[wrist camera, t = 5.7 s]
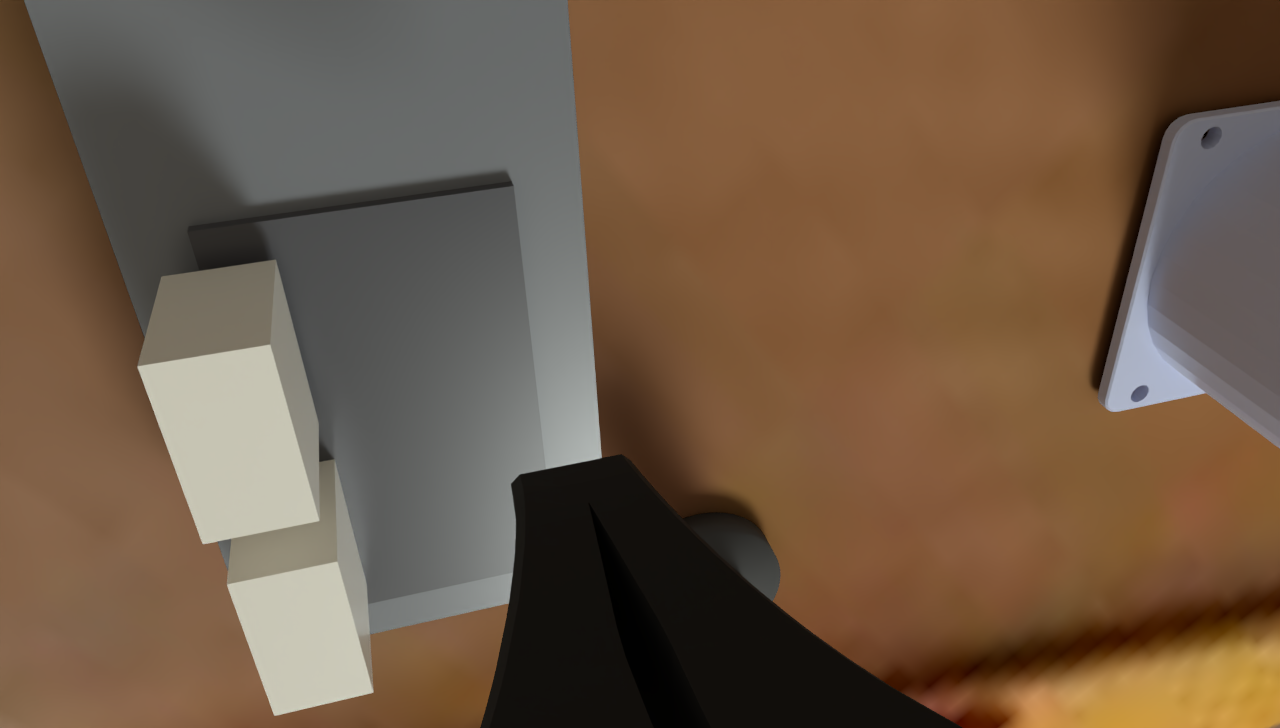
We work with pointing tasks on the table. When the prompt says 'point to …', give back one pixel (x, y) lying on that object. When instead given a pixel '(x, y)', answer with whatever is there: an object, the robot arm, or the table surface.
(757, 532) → the cord stand
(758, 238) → the table surface
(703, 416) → the table surface
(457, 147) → the block
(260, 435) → the block
